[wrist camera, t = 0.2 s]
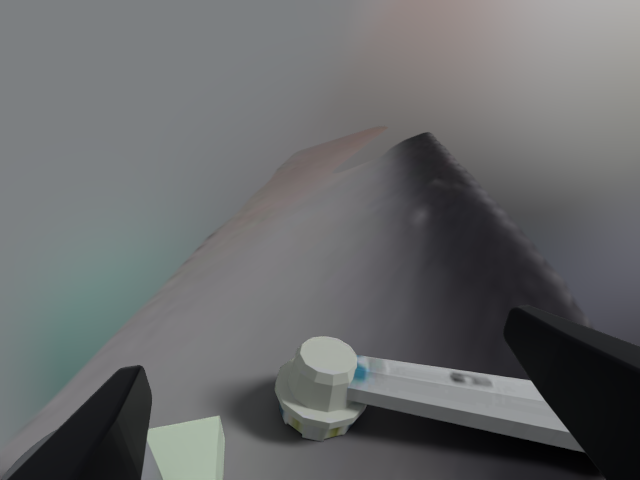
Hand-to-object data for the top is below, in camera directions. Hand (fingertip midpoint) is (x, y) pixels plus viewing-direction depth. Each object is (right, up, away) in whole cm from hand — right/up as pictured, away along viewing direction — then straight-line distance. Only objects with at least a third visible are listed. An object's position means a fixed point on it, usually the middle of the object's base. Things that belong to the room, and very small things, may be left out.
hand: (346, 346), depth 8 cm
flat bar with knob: (+9, -11, +15) cm, 21 cm away
